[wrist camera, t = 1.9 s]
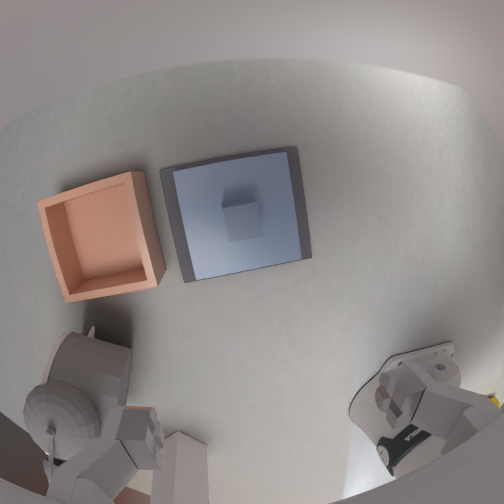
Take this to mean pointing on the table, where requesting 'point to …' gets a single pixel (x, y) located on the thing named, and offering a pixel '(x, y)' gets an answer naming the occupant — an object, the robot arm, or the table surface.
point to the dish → (103, 238)
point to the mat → (168, 176)
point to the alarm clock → (76, 395)
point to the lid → (238, 214)
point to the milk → (181, 472)
